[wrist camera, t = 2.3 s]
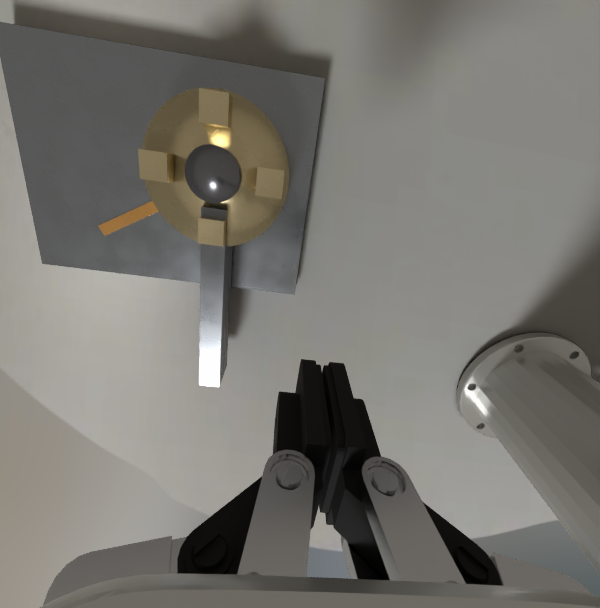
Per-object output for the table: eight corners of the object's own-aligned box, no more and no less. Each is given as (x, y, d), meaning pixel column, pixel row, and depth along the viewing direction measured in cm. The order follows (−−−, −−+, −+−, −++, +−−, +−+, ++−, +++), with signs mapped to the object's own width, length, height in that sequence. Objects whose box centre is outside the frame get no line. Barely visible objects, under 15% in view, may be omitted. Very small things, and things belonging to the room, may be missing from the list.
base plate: (323, 84, 21) (325, 77, 19) (294, 288, 27) (294, 295, 25) (14, 31, 20) (-9, 19, 18) (55, 258, 26) (41, 263, 24)
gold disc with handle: (297, 110, 20) (298, 97, 17) (267, 368, 28) (263, 396, 25) (156, 86, 19) (127, 69, 16) (167, 357, 28) (149, 385, 24)
